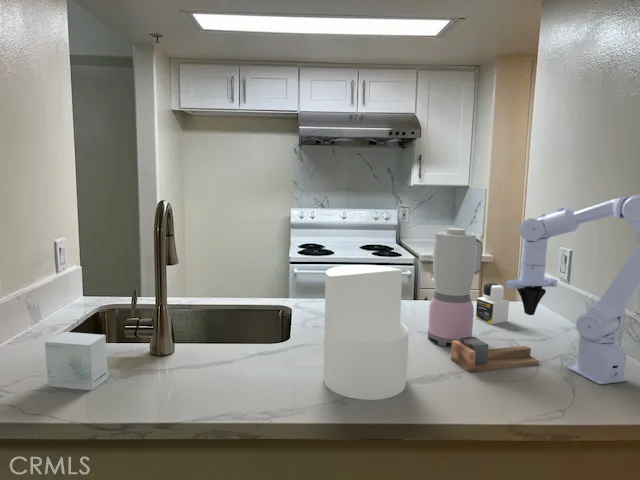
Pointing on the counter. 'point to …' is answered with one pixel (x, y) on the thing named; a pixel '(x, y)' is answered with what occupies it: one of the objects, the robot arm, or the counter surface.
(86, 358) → the skincare box
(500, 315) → the medicine bottle
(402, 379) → the cylinder
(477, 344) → the keeper
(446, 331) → the blender
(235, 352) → the counter surface
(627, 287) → the robot arm
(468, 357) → the rail board
